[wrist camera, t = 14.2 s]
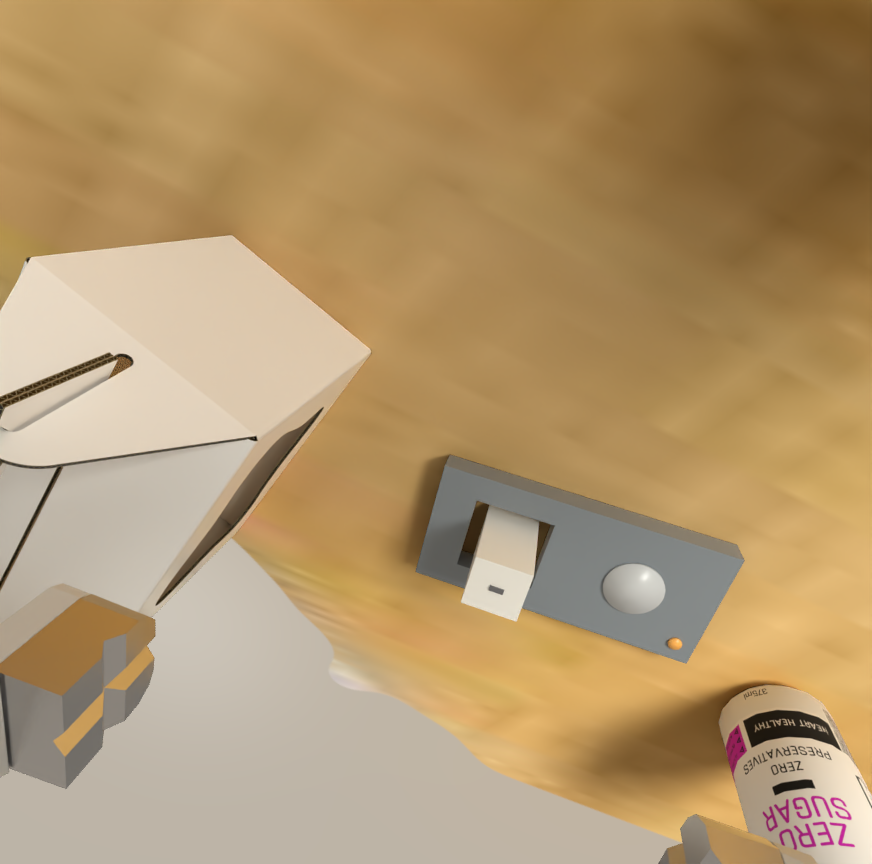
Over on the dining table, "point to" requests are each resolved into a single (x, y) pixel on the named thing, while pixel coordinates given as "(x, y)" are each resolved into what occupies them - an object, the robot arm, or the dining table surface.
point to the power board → (590, 560)
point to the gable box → (150, 412)
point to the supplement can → (797, 775)
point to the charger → (502, 563)
